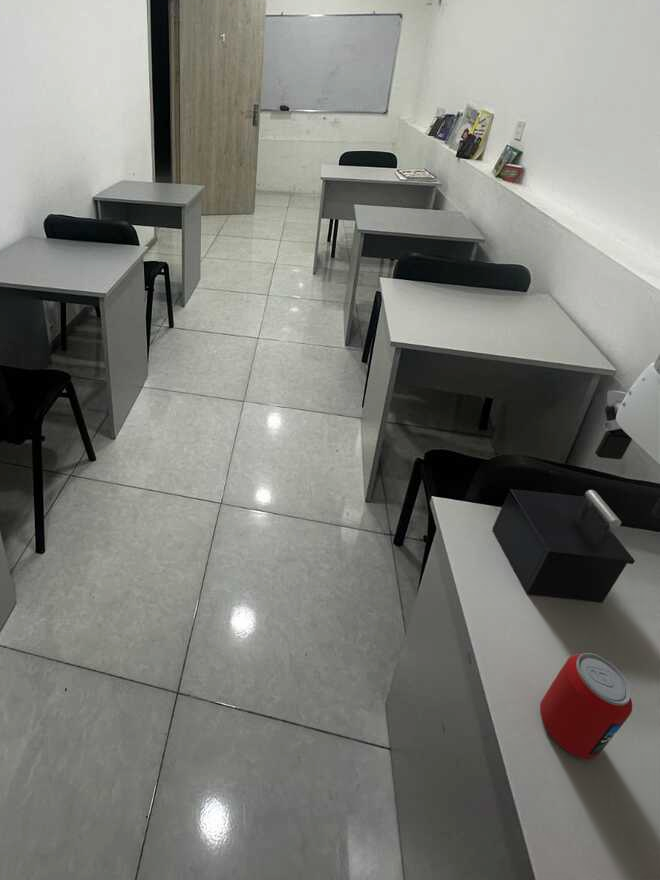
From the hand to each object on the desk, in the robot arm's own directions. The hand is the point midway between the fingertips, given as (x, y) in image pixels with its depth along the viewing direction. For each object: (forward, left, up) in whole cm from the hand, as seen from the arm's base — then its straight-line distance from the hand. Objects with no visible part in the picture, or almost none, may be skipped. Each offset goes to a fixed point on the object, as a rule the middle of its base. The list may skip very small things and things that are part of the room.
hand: (634, 484), depth 61 cm
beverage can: (+4, +12, -32) cm, 34 cm away
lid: (-7, -13, -22) cm, 26 cm away
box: (-7, -13, -32) cm, 35 cm away
